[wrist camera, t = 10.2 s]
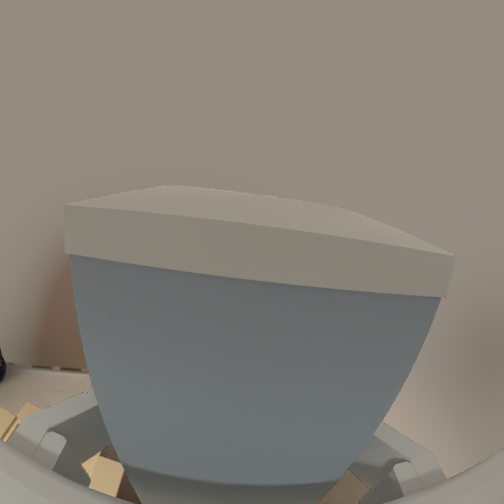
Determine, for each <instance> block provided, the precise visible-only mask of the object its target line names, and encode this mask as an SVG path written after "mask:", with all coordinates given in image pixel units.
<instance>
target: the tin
mask: <svg viewBox="0 0 504 504" xmlns="http://www.w3.org/2000/svg"><path fill="white" fill-rule="evenodd" d="M64 245H65V253H69V254H70V262H71V273H72V283H73V293H74V300H75V307H76V314H77V321H78V326H79V332H80V337H81V342H82V346H83V351H84V356H85V360H86V364H87V368H88V372H89V376H90V379H91V383H92V387H93V390H94V393H95V397H96V400H97V403H98V406H99V409H100V412H101V415H102V418H103V421H104V423H105V426H106V429H107V431H108V434H109V436H110V439H111V441H112V444H113V446H114V449H115V451H116V453H117V456H118V458H119V460H120V462H121V464H122V467H123V469H124V471H125V473H126V475H127V477H128V479H129V481H130V483H131V485H132V487H133V489H134V490H135V492H136V494H137V496H138V498H139V500H140V501H141V503H142V504H317V503H318V502H319V501H320V500H321V499H322V498H323V497H324V496H325V495H326V494H327V492H328V491H329V490H330V489H331V488H332V487H333V486H334V485H335V483H336V482H337V481H338V480H339V479H340V478H341V476H342V475H343V474H344V473H345V472H346V470H347V469H348V468H349V467H350V465H351V464H352V463H353V462H354V460H355V459H356V458H357V456H358V455H359V454H360V452H361V451H362V450H363V448H364V447H365V445H366V444H367V443H368V441H369V440H370V438H371V437H372V435H373V434H374V433H375V431H376V430H377V428H378V427H379V425H380V423H381V422H382V420H383V419H384V417H385V416H386V414H387V412H388V411H389V409H390V407H391V405H392V404H393V402H394V401H395V399H396V397H397V395H398V394H399V392H400V390H401V388H402V386H403V384H404V383H405V381H406V379H407V377H408V375H409V373H410V371H411V369H412V367H413V365H414V363H415V361H416V359H417V356H418V354H419V352H420V350H421V348H422V345H423V343H424V341H425V339H426V336H427V334H428V332H429V329H430V327H431V324H432V321H433V319H434V317H435V314H436V311H437V309H438V306H439V303H440V300H441V297H445V298H446V296H447V293H448V290H449V287H450V284H451V281H452V278H453V274H454V271H455V267H456V264H457V260H458V257H457V256H455V255H453V254H451V253H449V252H447V251H445V250H443V249H440V248H438V247H436V246H434V245H432V244H430V243H427V242H425V241H423V240H421V239H419V238H416V237H413V236H412V235H409V234H407V233H405V232H402V231H400V230H397V229H395V228H393V227H390V226H388V225H386V224H383V223H381V222H378V221H376V220H373V219H371V218H368V217H366V216H363V215H360V214H358V213H355V212H353V211H350V210H347V209H344V208H341V207H335V206H329V205H324V204H318V203H312V202H305V201H300V200H293V199H287V198H280V197H273V196H266V195H259V194H252V193H244V192H236V191H228V190H219V189H210V188H201V187H191V186H180V185H165V186H159V187H152V188H146V189H140V190H134V191H128V192H123V193H118V194H112V195H107V196H102V197H97V198H92V199H88V200H83V201H79V202H74V203H70V204H66V205H64Z"/></svg>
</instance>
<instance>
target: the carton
mask: <svg viewBox="0 0 504 504" xmlns="http://www.w3.org/2000/svg"><path fill="white" fill-rule="evenodd" d="M39 410H42V409H41V408H39V407H37V406H35V405H33V404H31V403H29V402H26V403H25V404H24V406H23V407H22V408H21V410H20V411H19V412H18V414H17V415H16V416H15V415H14V414H12V413H11V412H9V411H7V410H6V409H4V408H3V407H1V406H0V439H2V440H3V441H4V442H6V443H7V442H8V441H9V439H10V438H11V436H12V435H13V433H14V432H15V430H16V429H17V428H18V426H19V425H20V423H21V422H22V420H23V419H24V418H25V416H27V415H29V414H32V413H34V412H37V411H39ZM102 451H103V450H101V451H100V452H99V453H97V454H96V455H94V456H93V457H91V458H90V459H89V460H87V461H86V462H84V463H83V464H81V465H82V466H83V468H84V469H86V470H89V471H88V473H87V474H88V475H89V477H90V479H91V482H90V485H89V488H91V489H94V490H97V491H99V492H102V493H105V494H107V495H110V496H113V497H116V498H117V495H118V491H119V488H120V485H121V482H122V479H123V476H124V472H125V471H124V469H123V467H122V464H121V463H120V462H117V461H113V460H110V459H107V458H104V457H102V456H101V454H102Z"/></svg>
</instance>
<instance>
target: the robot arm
mask: <svg viewBox="0 0 504 504" xmlns="http://www.w3.org/2000/svg"><path fill="white" fill-rule="evenodd" d="M111 443H112V441H111V439H110V436H109V434H108V431H107V429H106V426H105V423H104V421H103V418H102V415H101V412H100V409H99V406H98V403H97V400H96V397H95V393H94V390H93V387H92V386H91V387H90V389H89V391H88V392H87V393H83V392H82V393H80V394H78V395H75V396H73V397H71V398H68V399H66V400H64V401H61V402H59V403H57V404H54V405H52V406H49V407H47V408H44V409H42V410H39V411H37V412H34V413H32V414H29V415H27V416H25V418H24V419H23V420H22V422H21V423H20V425H19V426H18V428H17V429H16V430H15V432H14V433H13V435H12V436H11V438H10V439H9V441H8V442H7V443H6V442H4V441H3V440H2V439H0V504H136V503H132V502H129V501H125V500H122V499H119V498H116V497H113V496H110V495H107V494H105V493H102V492H99V491H97V490H94V489H91V488H89V485H90V482H91V479H90V477H89V475H88V474H87V472H86V471H85V469H84V468H83V466H82V465H81V464H83V463H84V462H86V461H87V460H89V459H90V458H91V457H93V456H94V455H96V454H97V453H99V452H100V451H101V450H103V449H104V448H106V447H107V446H108V445H110V444H111ZM348 469H349V470H350V471H351V472H352V473H353V474H354V475H355V476H356V477H357V478H358V479H359V480H360V481H362V482H363V483H364V484H365V485H366V486H367V487H368V488H369V489H370V491H369V492H368V493H366V494H365V495H364V496H363V497H362V498H361V499H360V500H359V504H504V448H502V449H501V450H499V451H497V452H496V453H494V454H493V455H491V456H490V457H488V458H486V459H485V460H483V461H481V462H479V463H478V464H476V465H474V466H472V467H471V468H469V469H467V470H465V471H463V472H461V473H459V474H457V475H455V476H453V477H451V478H449V479H446V477H445V475H444V473H443V471H442V469H441V468H440V466H439V464H438V462H437V460H436V458H435V457H434V455H433V453H432V452H430V451H429V450H427V449H426V448H424V447H422V446H421V445H419V444H417V443H416V442H414V441H412V440H411V439H409V438H408V437H406V436H404V435H403V434H401V433H400V432H398V431H396V430H395V429H393V428H392V427H390V426H389V425H387V424H386V423H384V422H381V423H380V425H379V427H378V428H377V430H376V431H375V433H374V434H373V435H372V437H371V438H370V440H369V441H368V443H367V444H366V445H365V447H364V448H363V450H362V451H361V452H360V454H359V455H358V456H357V458H356V459H355V460H354V462H353V463H352V464H351V465H350V467H349V468H348Z"/></svg>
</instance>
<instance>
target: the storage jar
mask: <svg viewBox="0 0 504 504" xmlns="http://www.w3.org/2000/svg"><path fill="white" fill-rule="evenodd" d="M5 372H6V364H5V361H4V359H3V357H2V353H1V349H0V382H1V381H2V380H3V378H4V376H5Z"/></svg>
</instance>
